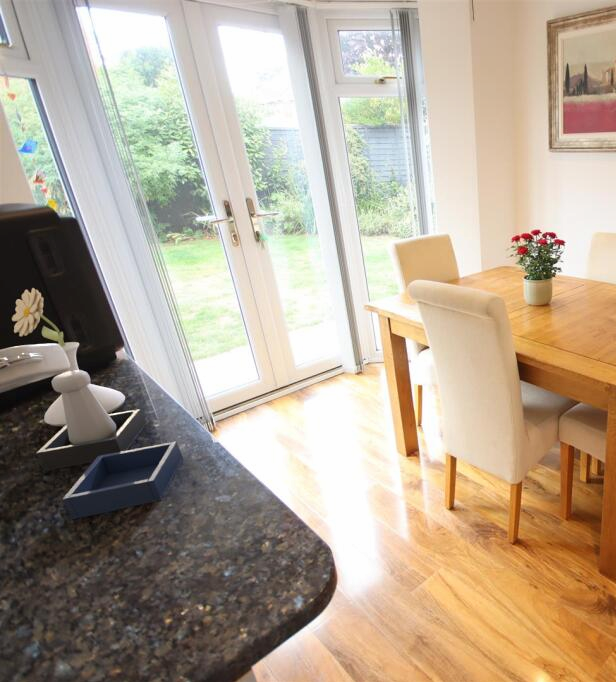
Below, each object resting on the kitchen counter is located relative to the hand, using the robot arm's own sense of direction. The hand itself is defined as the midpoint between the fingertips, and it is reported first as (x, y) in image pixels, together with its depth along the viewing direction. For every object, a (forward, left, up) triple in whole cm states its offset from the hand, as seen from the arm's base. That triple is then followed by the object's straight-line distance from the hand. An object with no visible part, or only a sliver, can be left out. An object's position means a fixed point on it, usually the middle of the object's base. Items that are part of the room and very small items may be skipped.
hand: (2, 382), depth 59 cm
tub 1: (+1, +11, -17) cm, 21 cm away
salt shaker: (+1, +11, -17) cm, 20 cm away
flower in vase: (-6, +24, -17) cm, 30 cm away
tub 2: (+10, -3, -17) cm, 20 cm away
